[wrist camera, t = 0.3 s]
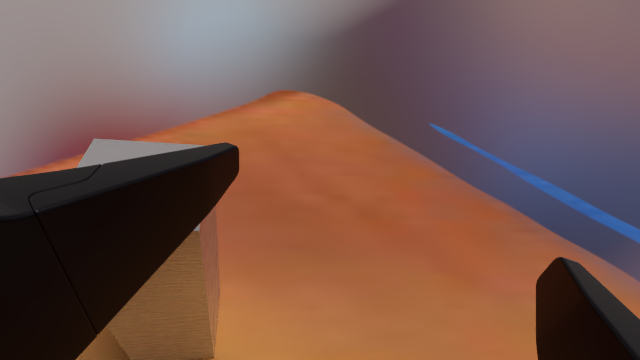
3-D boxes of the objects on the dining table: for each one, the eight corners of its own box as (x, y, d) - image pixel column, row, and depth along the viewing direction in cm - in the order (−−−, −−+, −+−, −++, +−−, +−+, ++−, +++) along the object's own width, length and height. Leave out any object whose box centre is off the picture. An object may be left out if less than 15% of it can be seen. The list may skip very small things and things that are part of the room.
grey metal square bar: (213, 357, 19) (198, 230, 10) (134, 364, 18) (38, 230, 9) (219, 289, 22) (212, 146, 13) (151, 291, 21) (93, 138, 12)
